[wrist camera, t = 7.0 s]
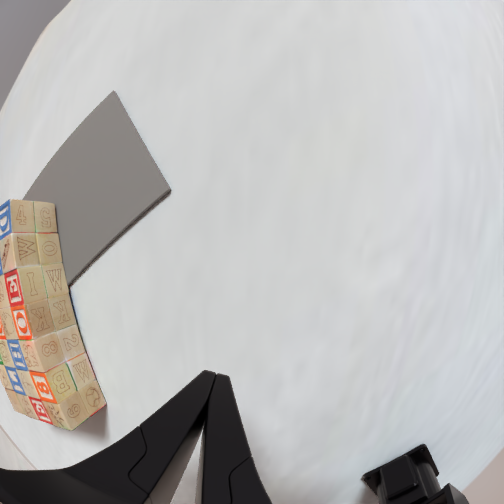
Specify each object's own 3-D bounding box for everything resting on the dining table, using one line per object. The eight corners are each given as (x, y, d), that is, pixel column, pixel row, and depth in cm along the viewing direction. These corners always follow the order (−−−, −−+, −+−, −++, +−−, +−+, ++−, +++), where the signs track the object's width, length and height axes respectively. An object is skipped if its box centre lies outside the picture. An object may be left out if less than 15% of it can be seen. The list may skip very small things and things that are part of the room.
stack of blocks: (57, 201, 23) (5, 232, 25) (10, 196, 17) (-32, 232, 19) (107, 405, 23) (45, 393, 26) (71, 433, 17) (14, 411, 19)
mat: (171, 189, 21) (168, 188, 20) (35, 323, 25) (32, 324, 25) (115, 92, 22) (113, 90, 22) (4, 234, 26) (2, 234, 26)
